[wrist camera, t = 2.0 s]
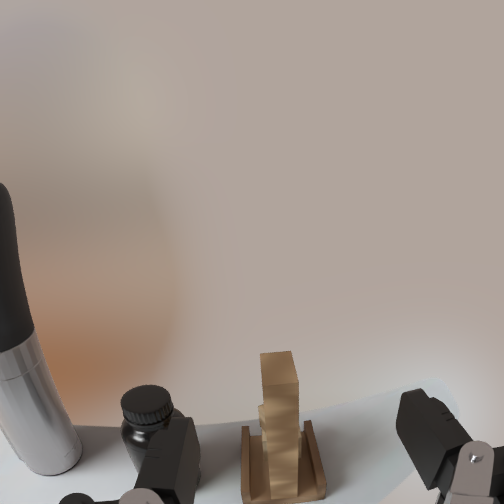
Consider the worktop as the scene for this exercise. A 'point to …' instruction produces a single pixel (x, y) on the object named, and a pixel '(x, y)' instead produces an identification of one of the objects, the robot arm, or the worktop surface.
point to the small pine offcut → (262, 417)
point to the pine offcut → (266, 445)
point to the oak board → (281, 421)
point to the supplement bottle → (145, 419)
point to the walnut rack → (257, 471)
